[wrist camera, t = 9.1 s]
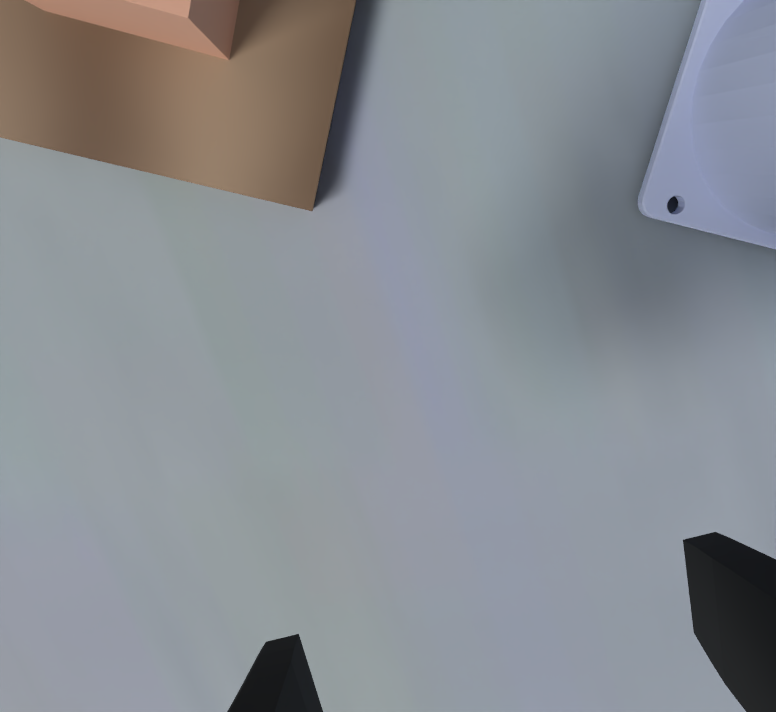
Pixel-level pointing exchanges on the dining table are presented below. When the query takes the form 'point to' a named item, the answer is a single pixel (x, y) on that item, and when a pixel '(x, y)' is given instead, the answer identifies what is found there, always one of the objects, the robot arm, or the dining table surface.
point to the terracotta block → (159, 20)
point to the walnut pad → (182, 95)
